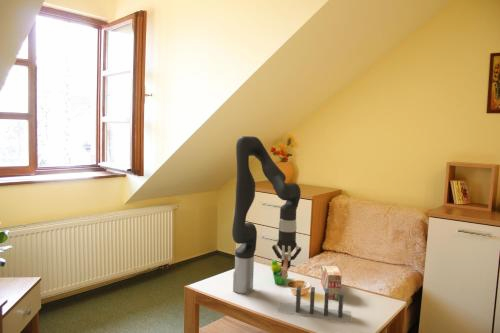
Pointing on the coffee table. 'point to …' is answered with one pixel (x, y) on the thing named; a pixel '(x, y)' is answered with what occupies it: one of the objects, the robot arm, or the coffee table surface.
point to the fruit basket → (277, 272)
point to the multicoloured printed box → (331, 280)
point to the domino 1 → (285, 267)
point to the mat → (317, 312)
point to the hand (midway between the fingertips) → (285, 268)
